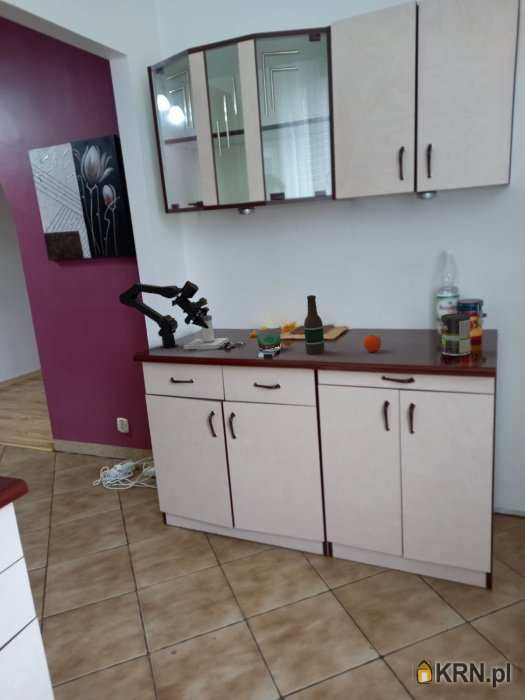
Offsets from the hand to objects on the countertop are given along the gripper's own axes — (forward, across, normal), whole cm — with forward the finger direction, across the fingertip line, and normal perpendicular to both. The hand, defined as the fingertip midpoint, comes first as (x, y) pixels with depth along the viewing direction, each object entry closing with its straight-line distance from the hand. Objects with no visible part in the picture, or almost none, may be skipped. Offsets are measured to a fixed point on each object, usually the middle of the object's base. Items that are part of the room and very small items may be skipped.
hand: (209, 327), depth 252 cm
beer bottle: (+45, -19, -33) cm, 59 cm away
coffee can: (+84, -24, -72) cm, 113 cm away
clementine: (+62, -19, -50) cm, 82 cm away
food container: (+31, -14, -18) cm, 38 cm away
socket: (+5, 0, +8) cm, 10 cm away
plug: (+4, 0, +6) cm, 7 cm away
